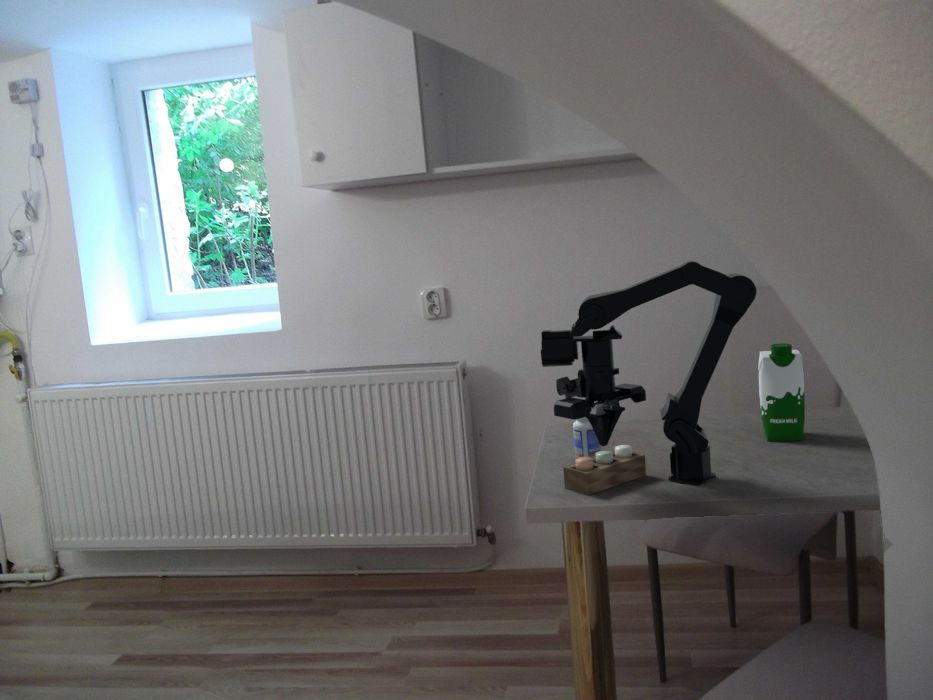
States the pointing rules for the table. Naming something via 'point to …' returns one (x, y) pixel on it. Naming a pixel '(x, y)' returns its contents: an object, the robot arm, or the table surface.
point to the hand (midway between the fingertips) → (603, 445)
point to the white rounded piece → (623, 451)
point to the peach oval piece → (584, 464)
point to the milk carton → (782, 393)
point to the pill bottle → (585, 439)
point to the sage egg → (604, 457)
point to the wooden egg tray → (604, 474)
